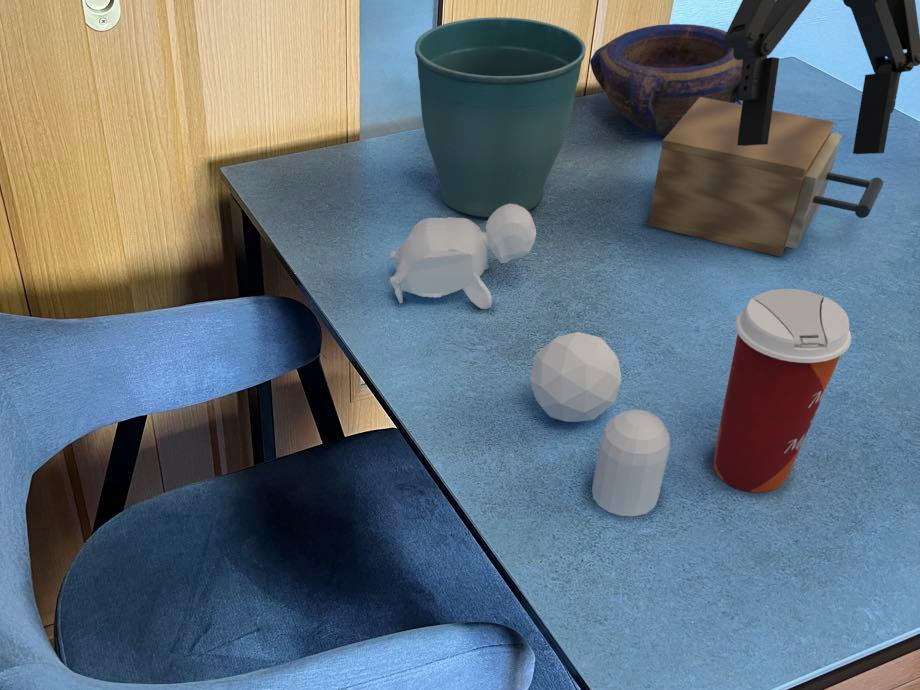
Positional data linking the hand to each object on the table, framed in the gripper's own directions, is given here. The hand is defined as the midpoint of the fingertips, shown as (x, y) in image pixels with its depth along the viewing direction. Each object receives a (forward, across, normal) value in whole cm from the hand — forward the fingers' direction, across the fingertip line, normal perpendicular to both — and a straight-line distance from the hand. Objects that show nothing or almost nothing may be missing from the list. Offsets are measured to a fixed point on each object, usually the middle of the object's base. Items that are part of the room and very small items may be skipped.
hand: (811, 149), depth 89 cm
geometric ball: (+23, +19, -5) cm, 30 cm away
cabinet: (+6, -14, -24) cm, 28 cm away
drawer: (+6, -17, -20) cm, 26 cm away
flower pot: (+4, +8, -40) cm, 41 cm away
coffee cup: (+26, +10, +8) cm, 29 cm away
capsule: (+28, +20, +5) cm, 35 cm away
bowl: (-6, -21, -46) cm, 51 cm away
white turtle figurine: (+14, +19, -26) cm, 35 cm away
